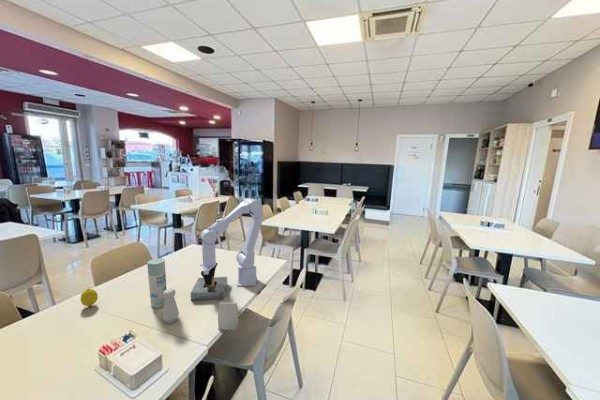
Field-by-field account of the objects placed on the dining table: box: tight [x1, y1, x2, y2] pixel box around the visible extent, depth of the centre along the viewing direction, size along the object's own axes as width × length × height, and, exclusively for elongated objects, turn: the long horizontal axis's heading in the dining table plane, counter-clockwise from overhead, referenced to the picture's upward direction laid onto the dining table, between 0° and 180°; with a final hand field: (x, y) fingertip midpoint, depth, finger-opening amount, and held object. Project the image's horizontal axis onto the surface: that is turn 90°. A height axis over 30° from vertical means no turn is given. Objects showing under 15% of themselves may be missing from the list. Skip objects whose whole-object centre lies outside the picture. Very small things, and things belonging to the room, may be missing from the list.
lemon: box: [80, 288, 99, 307], centre depth 107 cm, size 6×6×8 cm
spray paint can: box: [146, 257, 168, 309], centre depth 109 cm, size 6×6×20 cm
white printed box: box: [217, 302, 239, 331], centre depth 97 cm, size 4×7×10 cm, turn 87°
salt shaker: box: [162, 288, 180, 324], centre depth 99 cm, size 6×6×13 cm
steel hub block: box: [190, 276, 228, 302], centre depth 121 cm, size 14×14×4 cm
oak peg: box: [206, 276, 215, 287], centre depth 121 cm, size 4×4×7 cm
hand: (210, 281), depth 120 cm, fingers open, 6 cm apart
